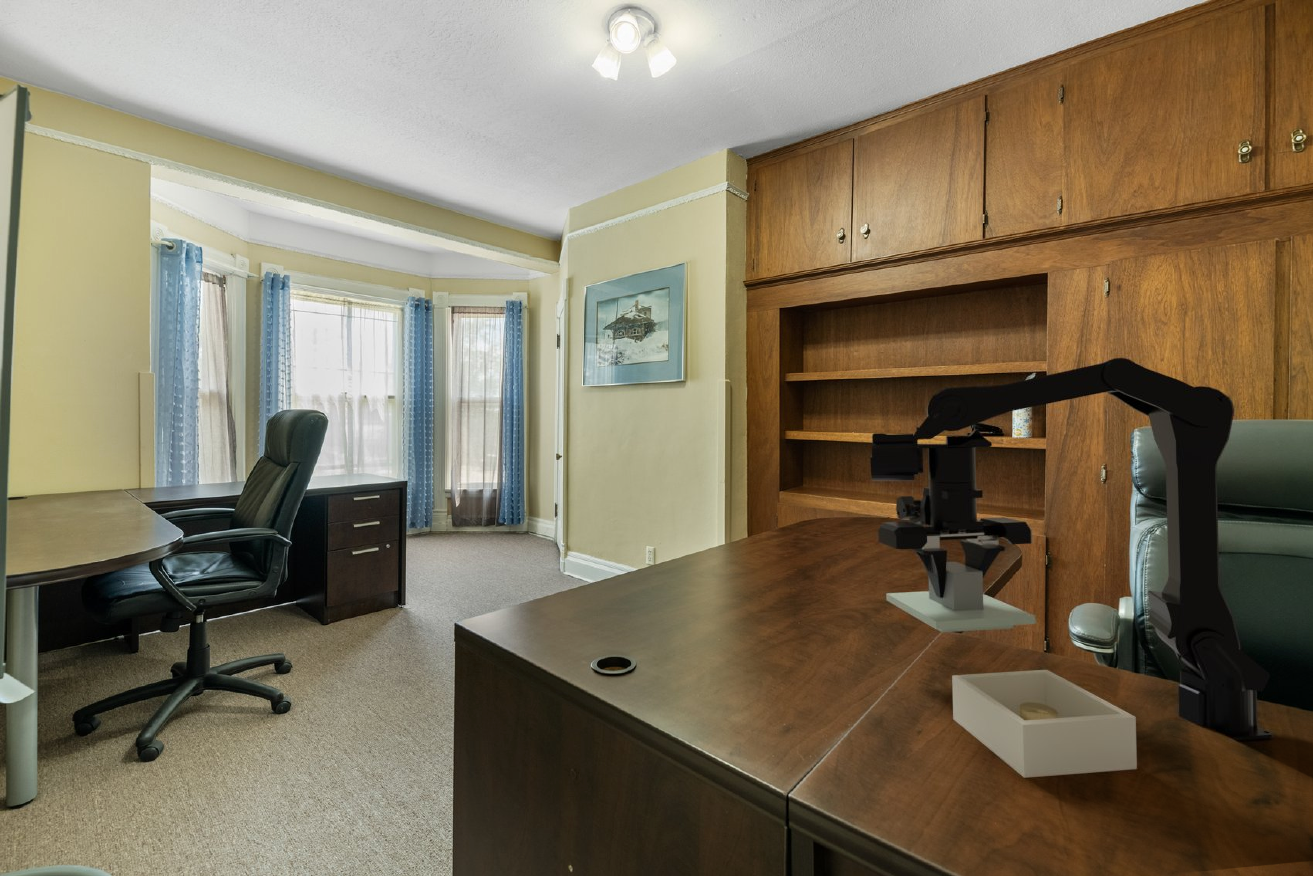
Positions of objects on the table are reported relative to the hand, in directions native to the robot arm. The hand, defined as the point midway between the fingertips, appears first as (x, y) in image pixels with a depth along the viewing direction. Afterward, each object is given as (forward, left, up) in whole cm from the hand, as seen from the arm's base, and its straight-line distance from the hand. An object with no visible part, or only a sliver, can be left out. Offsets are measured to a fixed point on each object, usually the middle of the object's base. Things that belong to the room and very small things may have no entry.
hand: (955, 596), depth 79 cm
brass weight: (-1, +14, -12) cm, 18 cm away
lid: (0, 0, -2) cm, 2 cm away
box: (0, +15, -13) cm, 20 cm away
